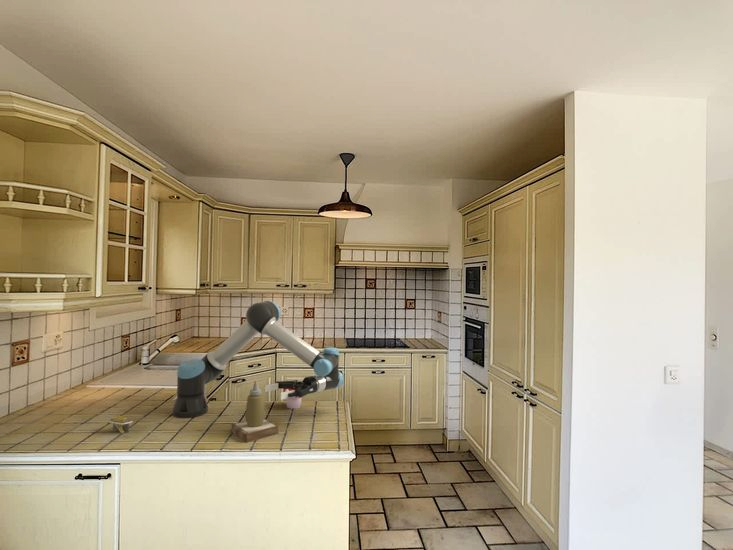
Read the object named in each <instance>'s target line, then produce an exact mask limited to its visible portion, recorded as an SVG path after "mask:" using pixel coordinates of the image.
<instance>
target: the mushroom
mask: <svg viewBox="0 0 733 550" xmlns="http://www.w3.org/2000/svg"><path fill="white" fill-rule="evenodd" d="M287 391H292V389H283V390H282V392H287ZM302 400H303V399H302V397H301V398H299V396H298V397H295V396H294V397H291V398H287V399H285V403H286V408H288V409H292V410H293V409H294V410H295V409H299V408H300V407H301V405H302Z"/></svg>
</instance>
